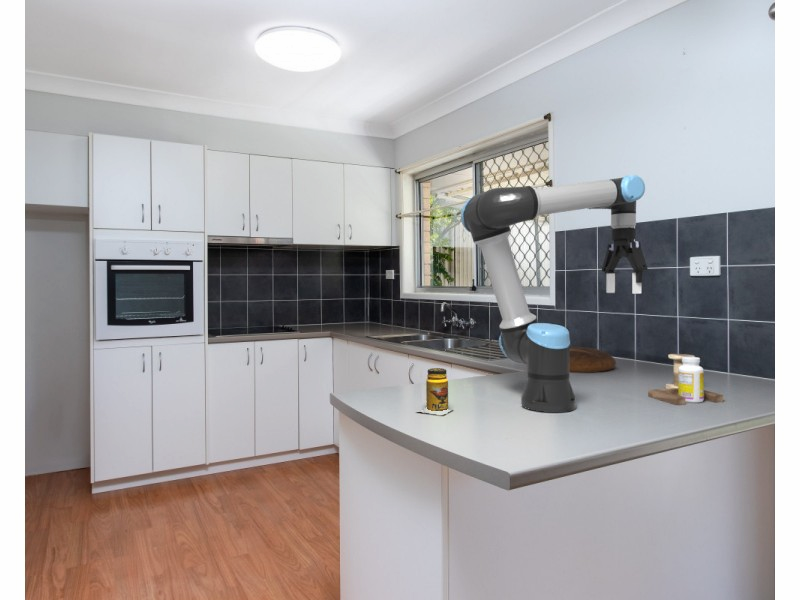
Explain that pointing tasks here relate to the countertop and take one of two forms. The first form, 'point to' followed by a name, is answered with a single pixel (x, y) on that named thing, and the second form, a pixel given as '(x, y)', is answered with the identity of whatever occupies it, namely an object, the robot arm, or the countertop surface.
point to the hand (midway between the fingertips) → (623, 293)
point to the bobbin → (676, 368)
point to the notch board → (673, 397)
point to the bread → (589, 360)
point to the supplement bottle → (691, 380)
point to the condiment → (437, 389)
